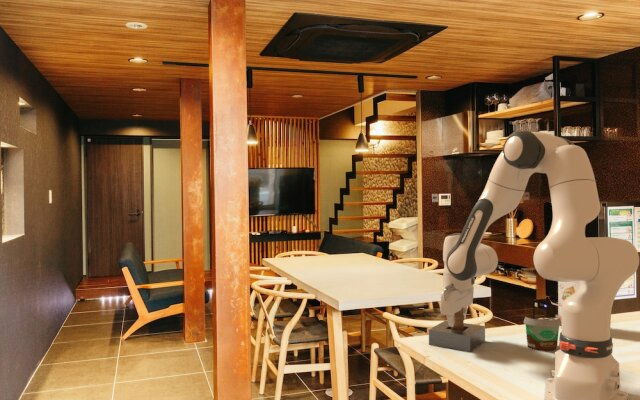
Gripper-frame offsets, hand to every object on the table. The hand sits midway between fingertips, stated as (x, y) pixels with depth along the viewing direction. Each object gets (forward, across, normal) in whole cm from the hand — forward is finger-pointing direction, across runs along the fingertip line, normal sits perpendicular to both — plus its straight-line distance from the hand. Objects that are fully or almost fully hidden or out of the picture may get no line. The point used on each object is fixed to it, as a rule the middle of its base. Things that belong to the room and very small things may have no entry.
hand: (457, 323), depth 175 cm
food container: (+7, +9, -26) cm, 28 cm away
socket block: (+7, 0, 0) cm, 7 cm away
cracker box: (+7, +39, -30) cm, 50 cm away
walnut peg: (+7, 0, 0) cm, 7 cm away
